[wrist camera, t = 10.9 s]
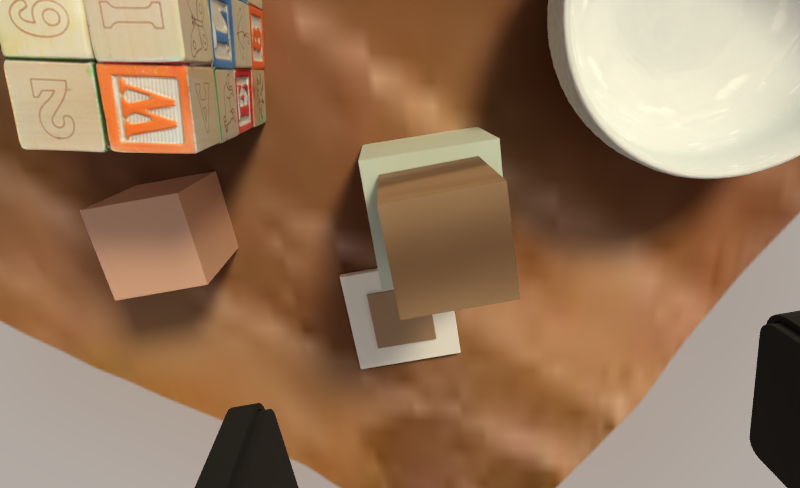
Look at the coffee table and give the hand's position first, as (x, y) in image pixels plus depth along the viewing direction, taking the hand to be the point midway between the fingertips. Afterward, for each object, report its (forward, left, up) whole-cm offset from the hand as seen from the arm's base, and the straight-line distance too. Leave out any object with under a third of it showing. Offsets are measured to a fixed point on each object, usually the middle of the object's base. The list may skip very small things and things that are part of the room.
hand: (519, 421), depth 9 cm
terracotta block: (0, -15, -22) cm, 27 cm away
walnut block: (0, 0, -17) cm, 17 cm away
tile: (+9, -3, -22) cm, 24 cm away
